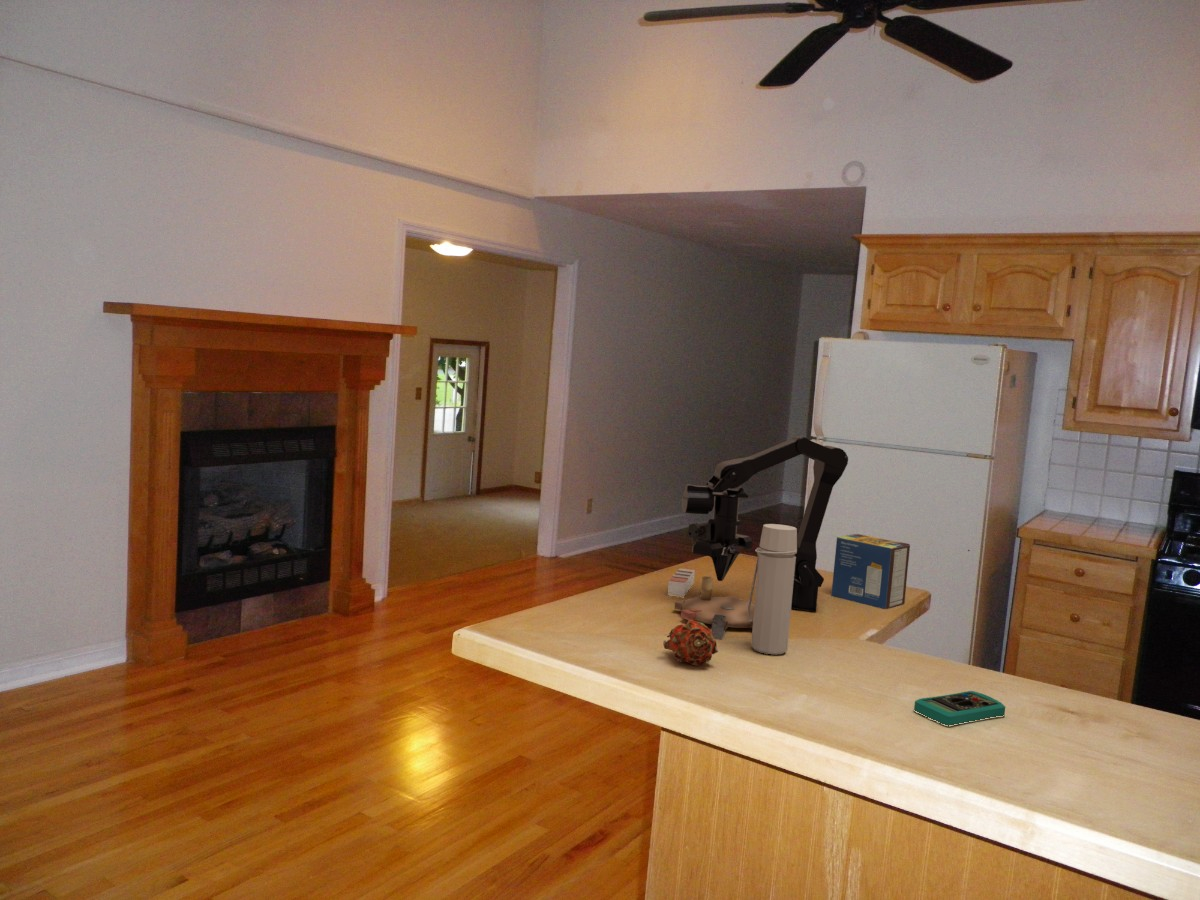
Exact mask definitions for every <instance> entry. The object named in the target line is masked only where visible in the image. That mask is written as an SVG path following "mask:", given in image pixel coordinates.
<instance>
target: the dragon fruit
mask: <svg viewBox="0 0 1200 900" xmlns="http://www.w3.org/2000/svg"><path fill="white" fill-rule="evenodd" d="M705 624H706V623H703V622H700V621H697V620H687V622H686V623H685V624H677V625H675V626H674V627H673V628H672V629H671V630H670V632H669V633H668V634H667V636H666V638H669V639H668V640H667V641H666V640H663V648H664V649H665V650H670V651H672V652H673V653H675V654H674V659H676V661H677V662H679V663H684V662H686V663H688V664H689V665H691V666H695V665H697V666H696V667H698V665H699V666H700V665H701V664H702V663H709V662H710V661H712V656H713V655H715V654H716V653H718V652H719V650H718V648H717V639H715V638H714V637H713V634H712V632H711V631H712V630H711V629H710V628H709V627H708V625H705ZM680 661H682V662H680Z"/></svg>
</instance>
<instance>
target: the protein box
mask: <svg viewBox="0 0 1200 900" xmlns="http://www.w3.org/2000/svg"><path fill="white" fill-rule="evenodd" d="M910 548H911V544H910V543H907V542H906V543H905V542H902V541H895V540H890V539H884V538H880V537H874V536H870V535H864V534H859V533H854V534H848V535H839V536H836V543H835V554H834V565H833V575H832V584H831V591H830V594H831V597H836V598H838V599H843V600H847V601H851V602H854V603H859V604H863V605H866V606H871V607H874V608H878V609H882V610H887V609H890V608H894V606H895V607H898V606H902V605H905V602H906V590H907V582H908V569H909V560H910V559H909V558H910V551H911V550H910ZM897 605H898V606H897Z"/></svg>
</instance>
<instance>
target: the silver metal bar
mask: <svg viewBox="0 0 1200 900" xmlns="http://www.w3.org/2000/svg"><path fill="white" fill-rule="evenodd" d="M695 572H696V570H695V569H688V568H678V569H677V571H676V572H675V573H674V574H673V575H672V576H671V577H670V578H669V580H668V585H667V586H668V587H667V596H668V595H674V596H681V597H684V596H685V595H686V596H687V594H688V593H689V592H688V590H689V589H690V587H691V586H692V584H693V583H694V584H695ZM692 587H693V586H692ZM692 587H691V588H692ZM690 590H691V589H690ZM690 590H689V591H690ZM687 592H688V593H687ZM686 593H687V594H686ZM686 596H685V597H686ZM685 597H684V598H685Z"/></svg>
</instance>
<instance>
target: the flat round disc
mask: <svg viewBox="0 0 1200 900" xmlns="http://www.w3.org/2000/svg"><path fill="white" fill-rule="evenodd" d="M713 579H714V578H713V577H712V576H702V579H701V589H700V594H694V595H691V597H690V598H687V599H685V600H683V599H676V601H675V602H674V610H678V611H680V618H682V619H685V620H687V621H689V620H693V621H697V622H701V623H703V624H709V625H712V619H713V617H714V615H715V614H717V615H724V616H726V628H725V630H726V629H727V630H728V628H740V629H741V628H742V629H745V628H746V629H747V628H749V629H753V621H752V622H751V621H748V604H749V600H745V599H741V598H740V597H739V596H732V595H731V596H730V595H726V596H725V597H724V596H712V592H713V591H712V590H713ZM754 606H755V601H751V607H750V617H751V620H753V618H754Z"/></svg>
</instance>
